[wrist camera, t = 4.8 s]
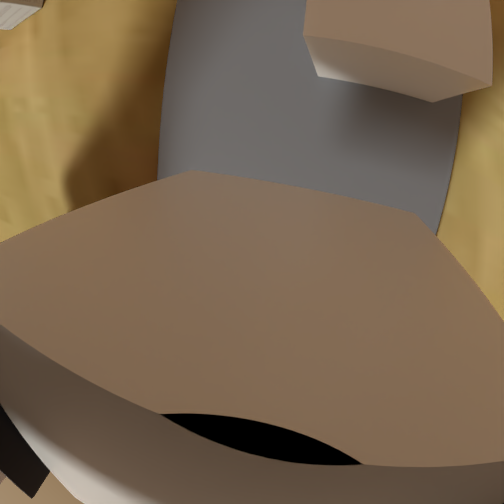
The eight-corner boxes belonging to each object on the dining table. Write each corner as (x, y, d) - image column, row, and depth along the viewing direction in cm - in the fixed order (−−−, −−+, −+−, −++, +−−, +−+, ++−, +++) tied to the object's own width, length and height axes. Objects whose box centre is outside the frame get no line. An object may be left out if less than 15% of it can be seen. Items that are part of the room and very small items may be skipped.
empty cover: (352, 383, 11) (332, 579, 4) (185, 342, 12) (75, 498, 5) (414, 213, 8) (568, 446, 1) (191, 170, 9) (-58, 273, 2)
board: (407, 302, 20) (409, 309, 19) (162, 247, 24) (156, 252, 23) (458, 4, 11) (463, -1, 10) (190, -26, 15) (184, -31, 14)
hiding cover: (432, 102, 14) (491, 85, 7) (318, 76, 15) (303, 35, 8) (436, 6, 11) (480, -51, 4) (327, -19, 13) (314, -92, 5)
